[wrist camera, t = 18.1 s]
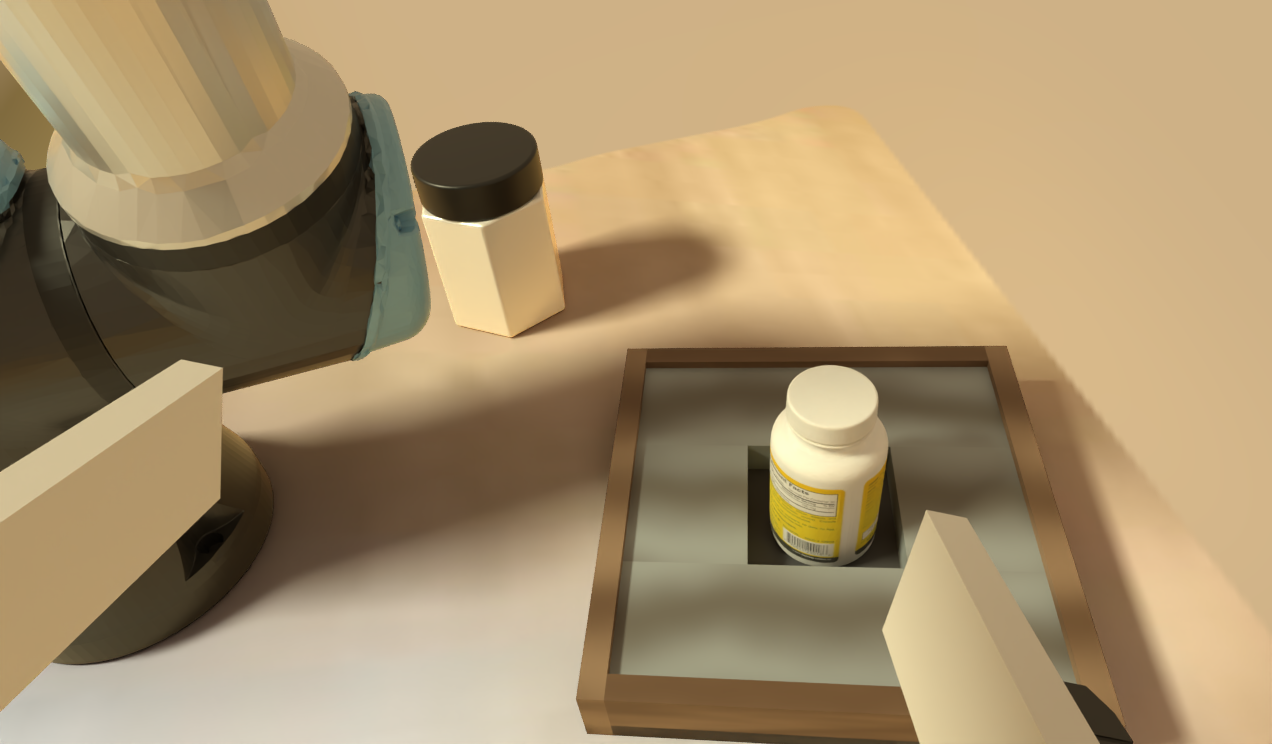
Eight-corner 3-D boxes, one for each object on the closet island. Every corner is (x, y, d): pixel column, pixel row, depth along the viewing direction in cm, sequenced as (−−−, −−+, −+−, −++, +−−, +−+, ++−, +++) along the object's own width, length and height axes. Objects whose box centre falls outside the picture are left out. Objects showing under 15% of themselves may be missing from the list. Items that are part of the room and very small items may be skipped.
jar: (532, 249, 67) (501, 105, 58) (592, 297, 62) (566, 148, 53) (431, 299, 63) (382, 155, 55) (484, 355, 58) (439, 205, 50)
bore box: (1100, 761, 36) (1125, 725, 34) (587, 733, 39) (575, 699, 37) (994, 388, 52) (1006, 345, 49) (633, 388, 55) (627, 348, 52)
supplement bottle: (847, 475, 47) (864, 342, 40) (893, 555, 43) (920, 423, 36) (753, 500, 46) (754, 369, 39) (791, 583, 42) (799, 454, 36)
